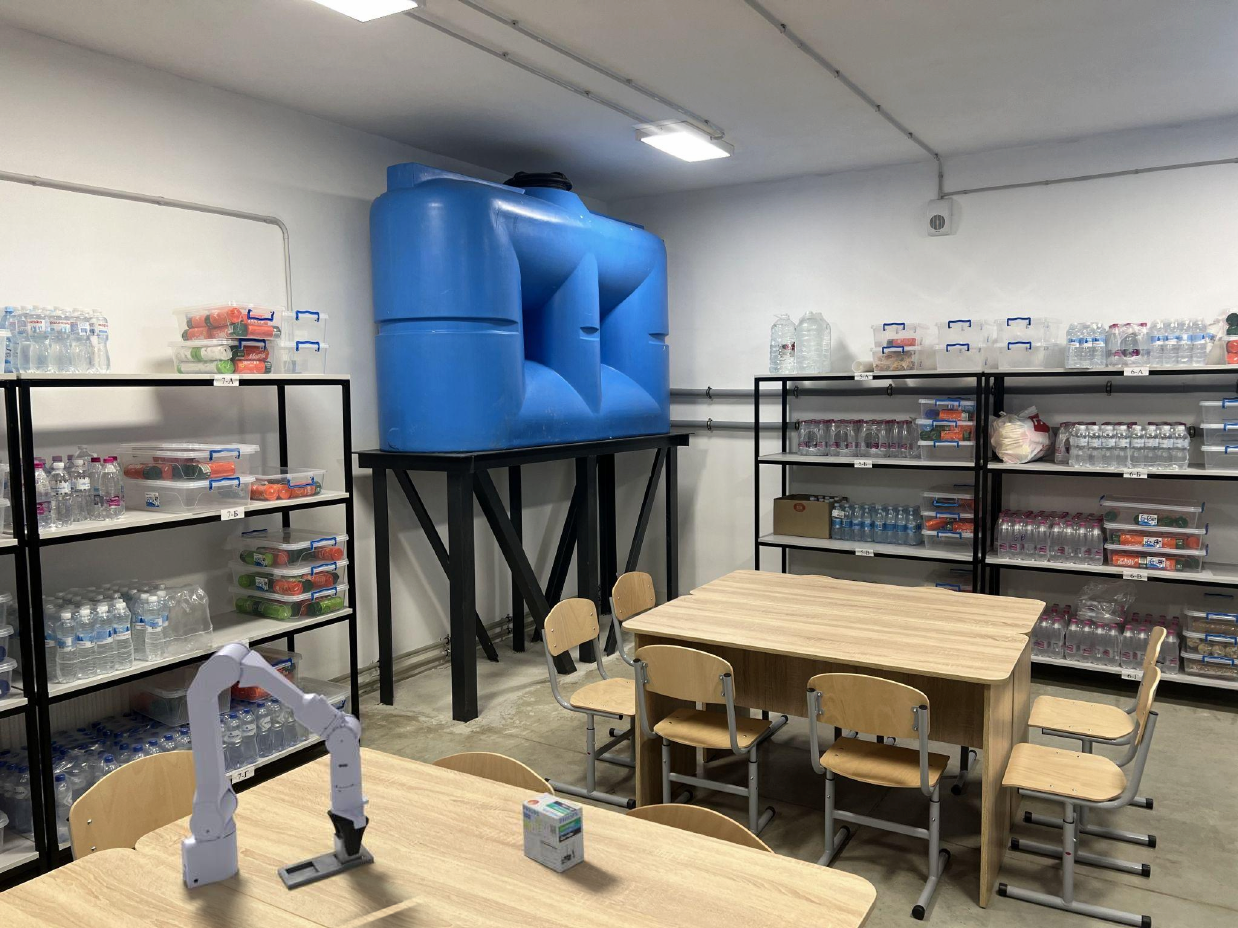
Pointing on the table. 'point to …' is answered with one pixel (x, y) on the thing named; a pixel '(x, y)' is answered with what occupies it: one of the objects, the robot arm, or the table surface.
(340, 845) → the grey square block
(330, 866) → the dark gray slotted base
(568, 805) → the light bulb box
